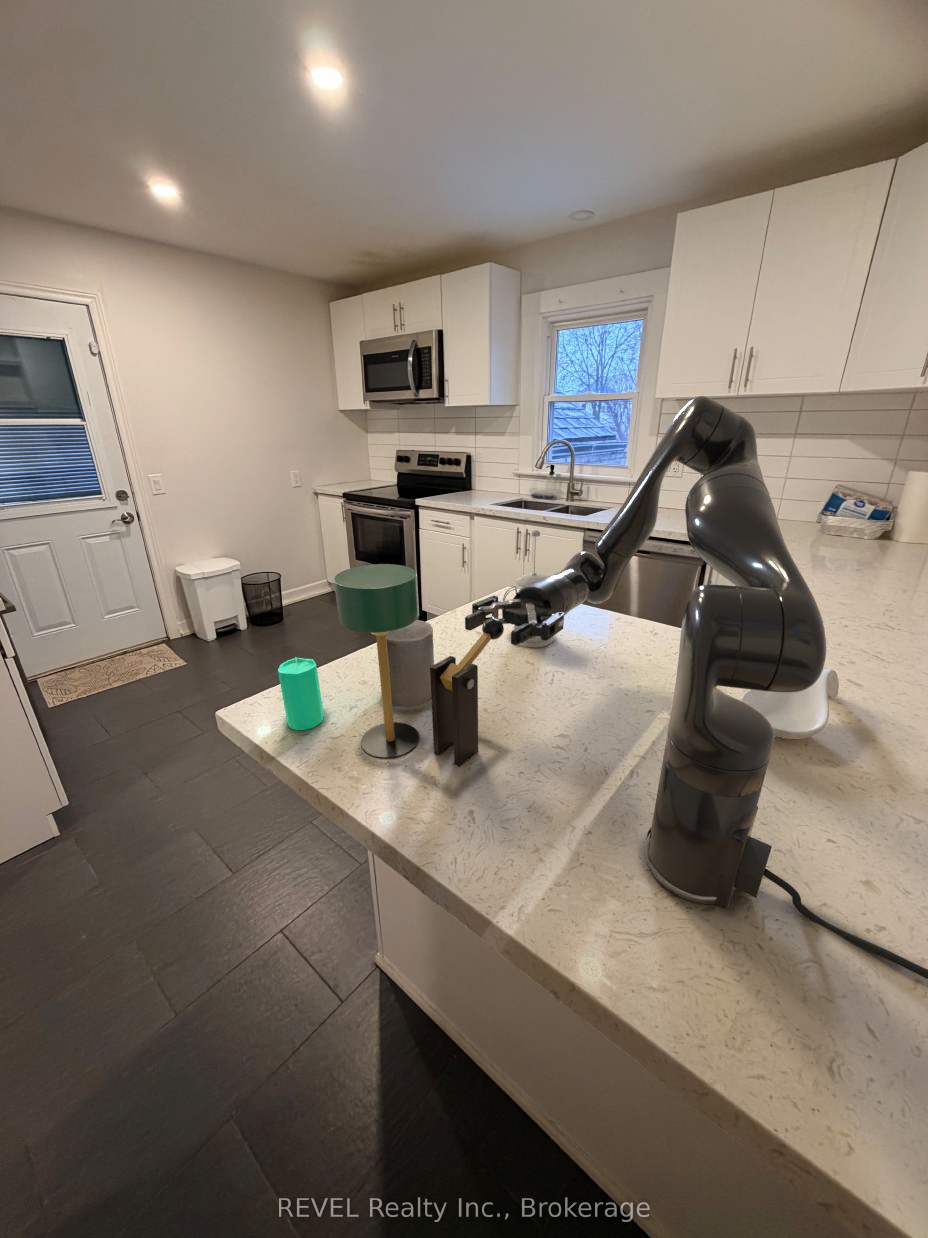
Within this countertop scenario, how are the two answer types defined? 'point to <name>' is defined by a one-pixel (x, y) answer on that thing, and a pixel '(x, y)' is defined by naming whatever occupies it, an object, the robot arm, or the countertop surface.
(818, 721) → the spoon rest
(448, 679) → the switch lever
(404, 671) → the pillar candle
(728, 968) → the countertop surface
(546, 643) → the french press
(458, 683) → the switch bracket
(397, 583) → the desk lamp
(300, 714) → the candle
